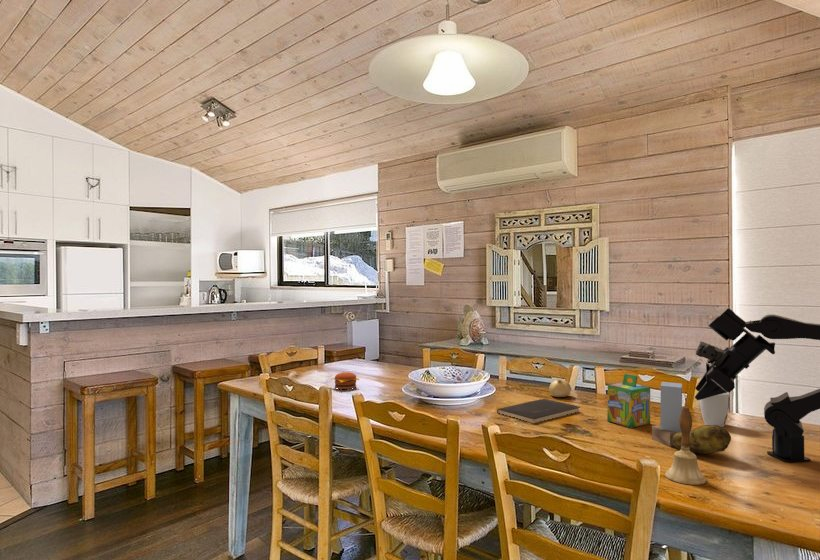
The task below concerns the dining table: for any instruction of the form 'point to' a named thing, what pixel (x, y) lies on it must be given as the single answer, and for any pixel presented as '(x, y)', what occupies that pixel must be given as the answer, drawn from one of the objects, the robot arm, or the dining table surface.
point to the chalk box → (628, 403)
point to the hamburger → (345, 380)
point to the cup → (715, 409)
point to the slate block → (670, 406)
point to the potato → (705, 439)
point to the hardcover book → (538, 410)
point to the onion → (560, 388)
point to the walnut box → (663, 436)
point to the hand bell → (685, 456)
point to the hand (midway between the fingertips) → (696, 394)
